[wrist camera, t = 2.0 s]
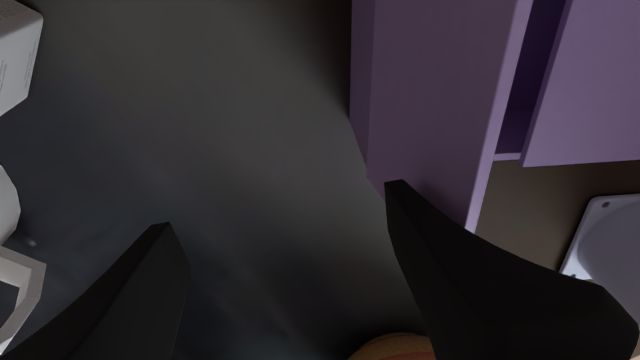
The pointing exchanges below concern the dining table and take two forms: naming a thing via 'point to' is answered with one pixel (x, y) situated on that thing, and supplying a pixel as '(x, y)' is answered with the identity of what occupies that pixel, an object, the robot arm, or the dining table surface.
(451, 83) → the flap
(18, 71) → the ink box
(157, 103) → the dining table surface
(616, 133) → the storage box
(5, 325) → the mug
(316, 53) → the dining table surface
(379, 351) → the vase
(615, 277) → the robot arm
